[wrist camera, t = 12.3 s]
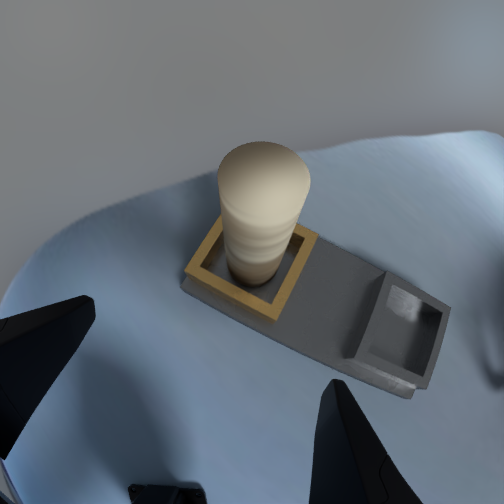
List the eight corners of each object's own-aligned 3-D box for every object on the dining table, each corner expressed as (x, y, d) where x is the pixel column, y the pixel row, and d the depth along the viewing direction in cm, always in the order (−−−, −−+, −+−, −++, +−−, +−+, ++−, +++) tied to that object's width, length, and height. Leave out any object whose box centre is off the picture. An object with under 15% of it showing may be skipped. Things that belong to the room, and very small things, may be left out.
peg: (288, 266, 22) (328, 184, 12) (248, 297, 21) (257, 233, 11) (256, 228, 23) (269, 130, 13) (216, 257, 22) (199, 168, 12)
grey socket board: (434, 307, 22) (454, 299, 19) (403, 398, 19) (424, 401, 16) (237, 204, 25) (237, 184, 22) (182, 290, 22) (174, 279, 19)
